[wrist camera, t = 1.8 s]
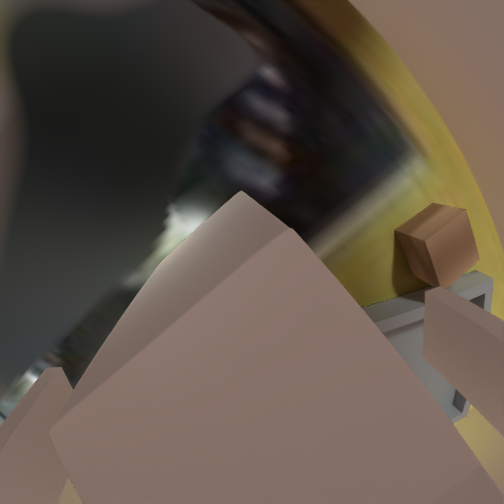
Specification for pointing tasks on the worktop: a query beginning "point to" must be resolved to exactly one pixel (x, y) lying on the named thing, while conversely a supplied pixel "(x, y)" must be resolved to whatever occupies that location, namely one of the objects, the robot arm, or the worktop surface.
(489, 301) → the tray
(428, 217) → the walnut block
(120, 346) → the milk carton
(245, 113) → the worktop surface
